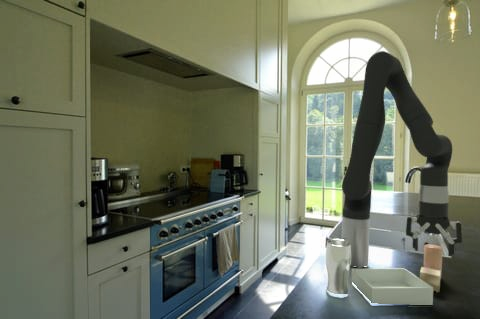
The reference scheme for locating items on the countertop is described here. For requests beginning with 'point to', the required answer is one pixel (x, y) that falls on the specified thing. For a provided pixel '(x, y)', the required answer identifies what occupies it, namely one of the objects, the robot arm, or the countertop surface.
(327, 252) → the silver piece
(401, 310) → the countertop surface
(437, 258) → the terracotta cylinder
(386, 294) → the grey tote
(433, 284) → the beech cube
